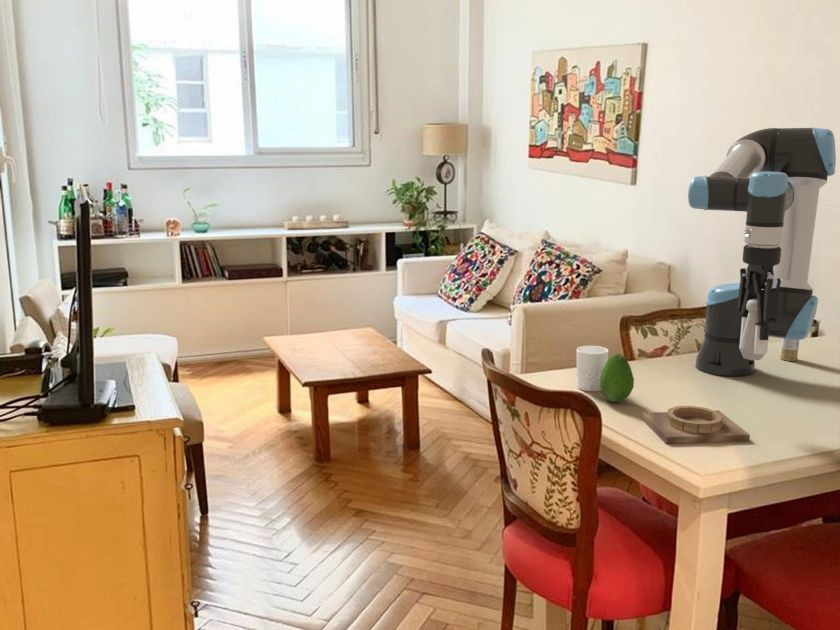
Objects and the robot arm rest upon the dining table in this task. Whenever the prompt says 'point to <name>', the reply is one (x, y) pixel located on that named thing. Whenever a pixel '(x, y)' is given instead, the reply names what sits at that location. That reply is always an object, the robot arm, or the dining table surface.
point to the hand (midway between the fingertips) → (753, 349)
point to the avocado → (616, 379)
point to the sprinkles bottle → (789, 349)
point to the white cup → (590, 367)
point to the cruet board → (694, 437)
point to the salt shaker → (750, 332)
